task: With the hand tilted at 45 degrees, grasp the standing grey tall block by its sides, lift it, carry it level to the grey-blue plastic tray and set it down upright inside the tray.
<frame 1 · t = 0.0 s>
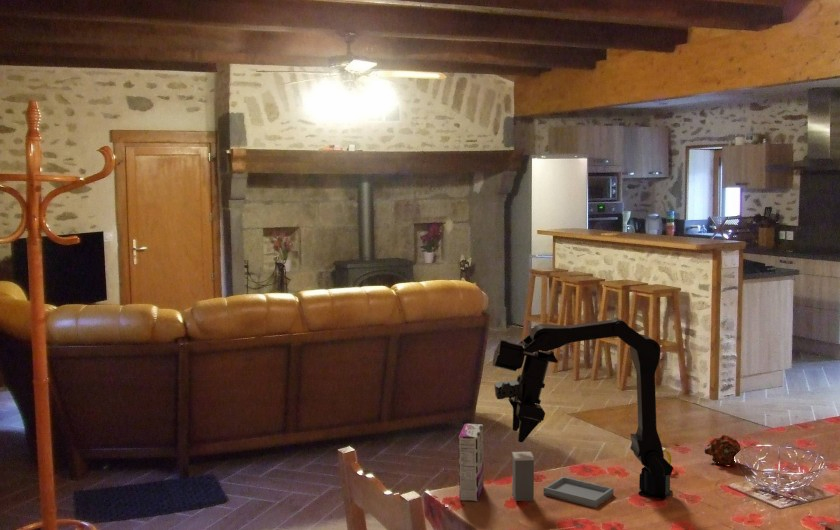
hand: (517, 436, 199), 15 cm above the table, tool pointing down, fingers open, 9 cm apart
watch: (660, 470, 219), on the table
candy bar box: (471, 494, 203), on the table
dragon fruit: (723, 464, 224), on the table
grey tall block: (522, 498, 200), on the table
tray: (578, 495, 201), on the table
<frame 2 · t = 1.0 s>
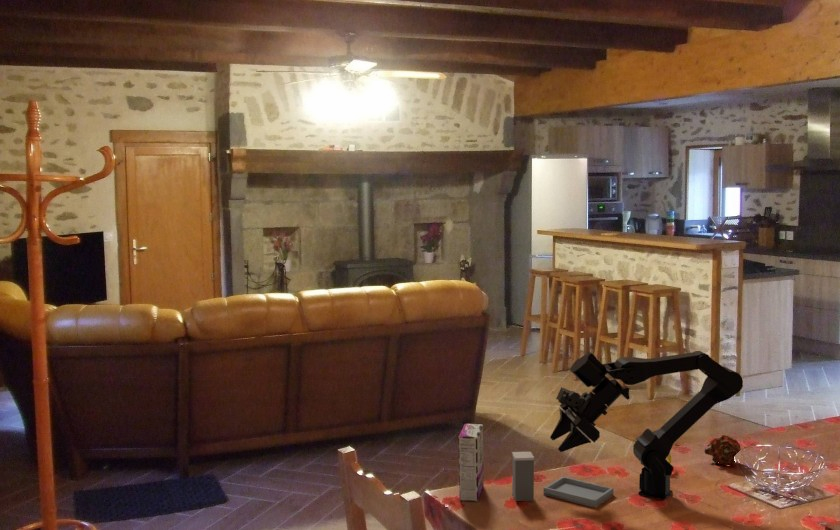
hand: (555, 444, 199), 13 cm above the table, tool tilted 45°, fingers open, 9 cm apart
nothing on the table moved.
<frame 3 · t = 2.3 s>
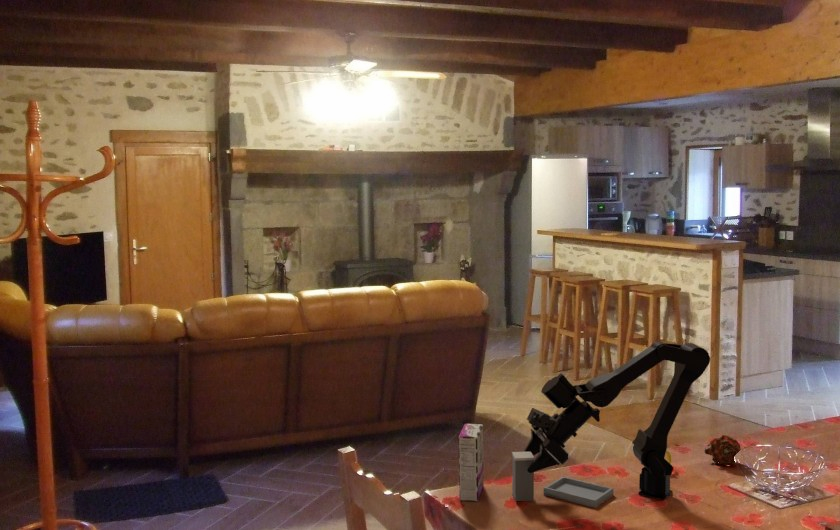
hand: (524, 465, 199), 8 cm above the table, tool tilted 45°, fingers open, 9 cm apart
nothing on the table moved.
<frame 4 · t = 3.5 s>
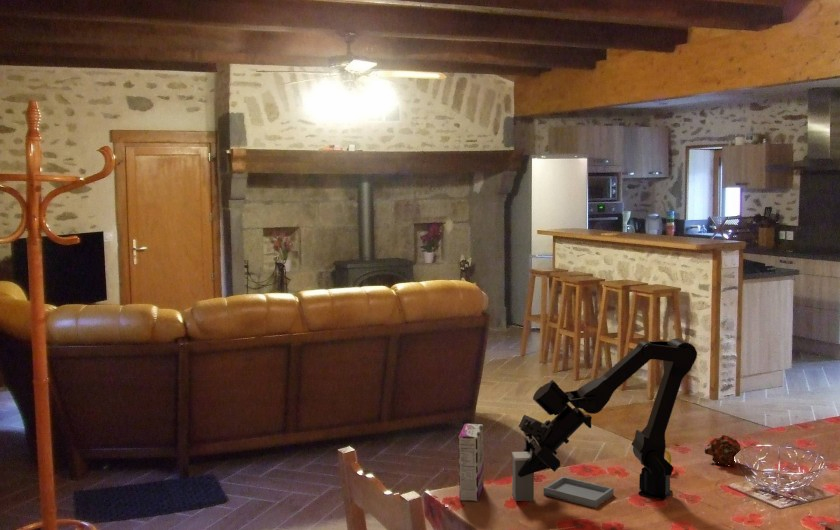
hand: (517, 472, 199), 7 cm above the table, tool tilted 45°, fingers closed on grey tall block, 4 cm apart
grey tall block: (522, 498, 200), on the table, touching gripper
everything else where it was.
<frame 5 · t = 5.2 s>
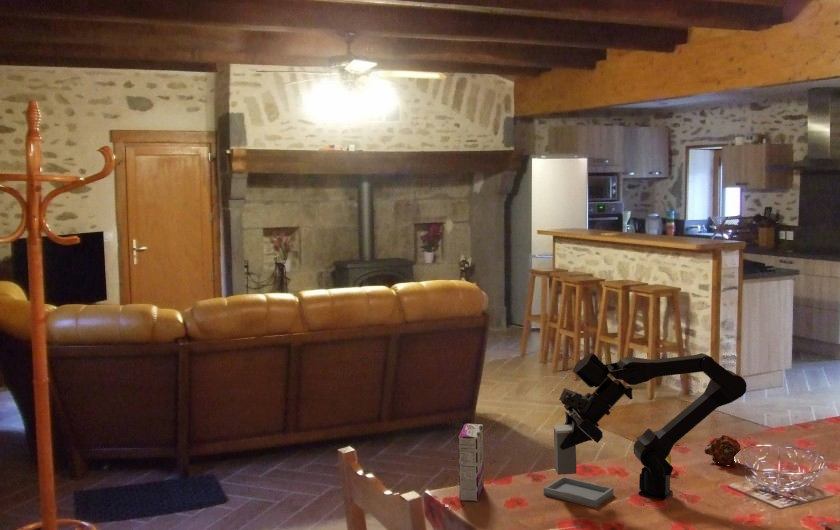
hand: (559, 445, 200), 13 cm above the table, tool tilted 45°, fingers closed on grey tall block, 4 cm apart
grey tall block: (565, 471, 200), point 6 cm above the table, touching gripper
everything else where it was.
when the fingers open (8 cm above the table, at t = 6.8 s): grey tall block drops 1 cm, resting on tray.
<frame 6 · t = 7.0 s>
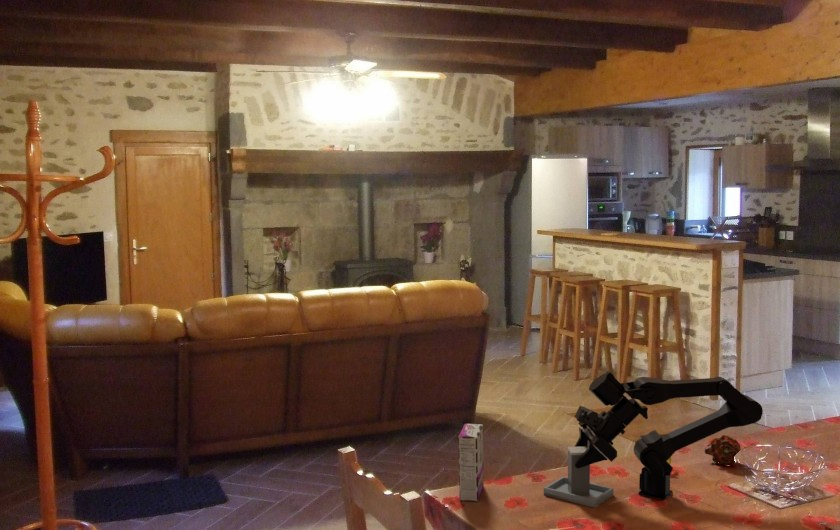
hand: (573, 462, 201), 8 cm above the table, tool tilted 45°, fingers open, 7 cm apart
grey tall block: (578, 492, 201), point 1 cm above the table, touching tray
everything else where it was.
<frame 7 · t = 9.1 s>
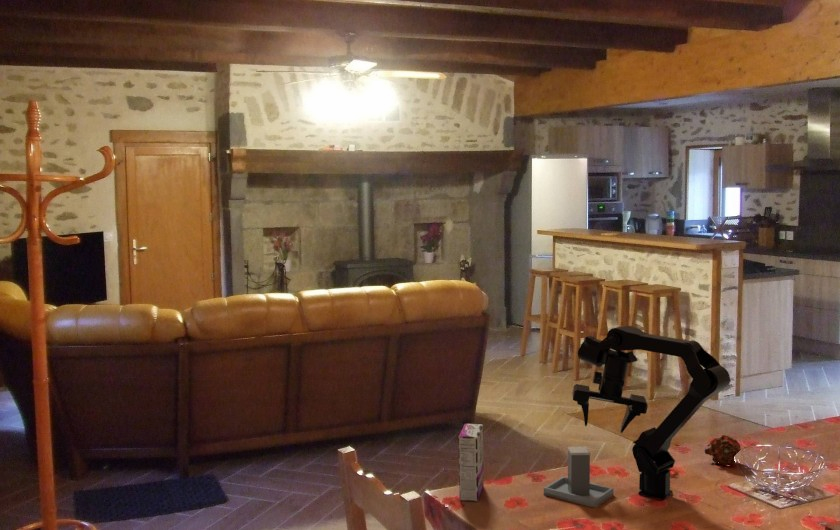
hand: (603, 428, 211), 13 cm above the table, tool pointing down, fingers open, 9 cm apart
nothing on the table moved.
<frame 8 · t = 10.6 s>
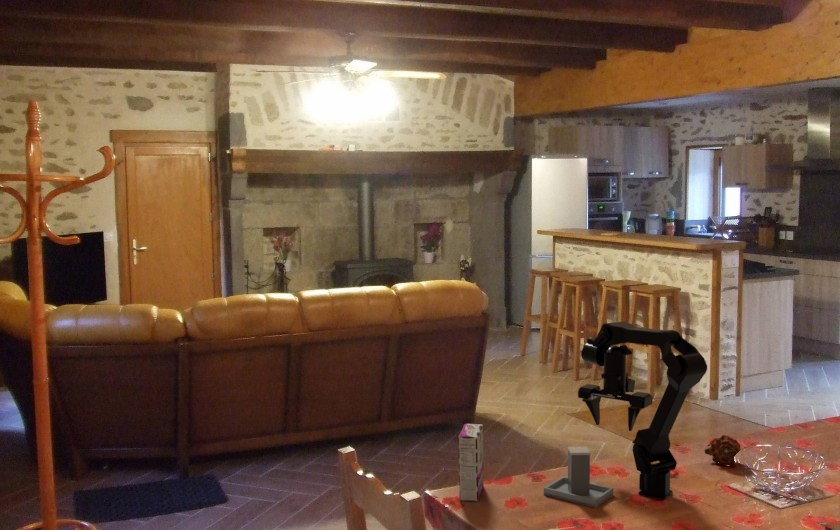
hand: (614, 427, 214), 13 cm above the table, tool pointing down, fingers open, 9 cm apart
nothing on the table moved.
at the end: grey tall block inside the target area on the tray (0.0 cm from its centre), point 0.6 cm above the tray's base; grey tall block tilted 0°; the gripper is holding nothing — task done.
